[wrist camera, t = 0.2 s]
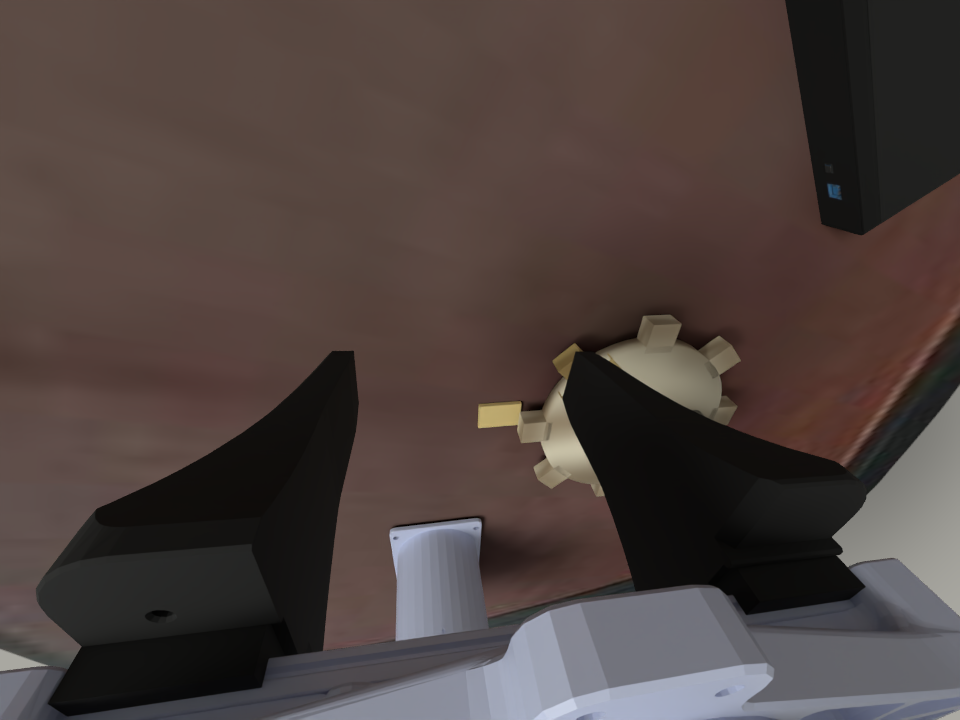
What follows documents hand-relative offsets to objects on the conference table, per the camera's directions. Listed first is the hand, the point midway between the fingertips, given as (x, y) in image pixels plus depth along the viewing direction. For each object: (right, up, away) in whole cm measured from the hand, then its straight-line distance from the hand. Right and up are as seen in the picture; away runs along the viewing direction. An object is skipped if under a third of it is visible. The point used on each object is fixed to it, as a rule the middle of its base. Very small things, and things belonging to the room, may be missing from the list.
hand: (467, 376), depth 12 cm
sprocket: (+11, -3, +16) cm, 20 cm away
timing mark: (+2, -3, +15) cm, 15 cm away
